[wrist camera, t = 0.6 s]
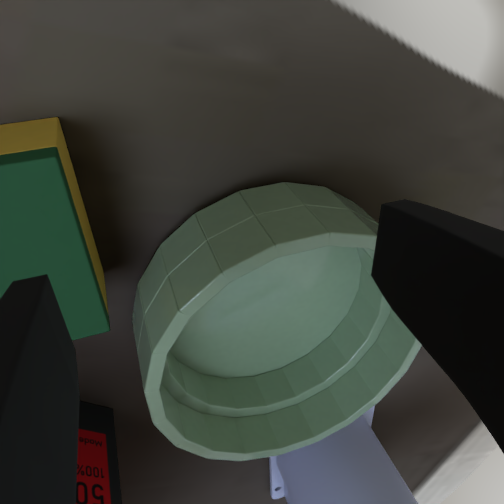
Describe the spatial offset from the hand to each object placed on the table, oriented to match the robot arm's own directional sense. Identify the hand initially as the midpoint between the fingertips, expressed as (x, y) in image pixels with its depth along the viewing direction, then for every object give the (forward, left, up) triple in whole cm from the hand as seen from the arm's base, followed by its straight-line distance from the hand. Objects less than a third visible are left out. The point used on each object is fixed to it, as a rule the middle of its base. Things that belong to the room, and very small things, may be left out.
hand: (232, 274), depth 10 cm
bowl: (-9, -4, -10) cm, 14 cm away
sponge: (-2, +6, -10) cm, 12 cm away
